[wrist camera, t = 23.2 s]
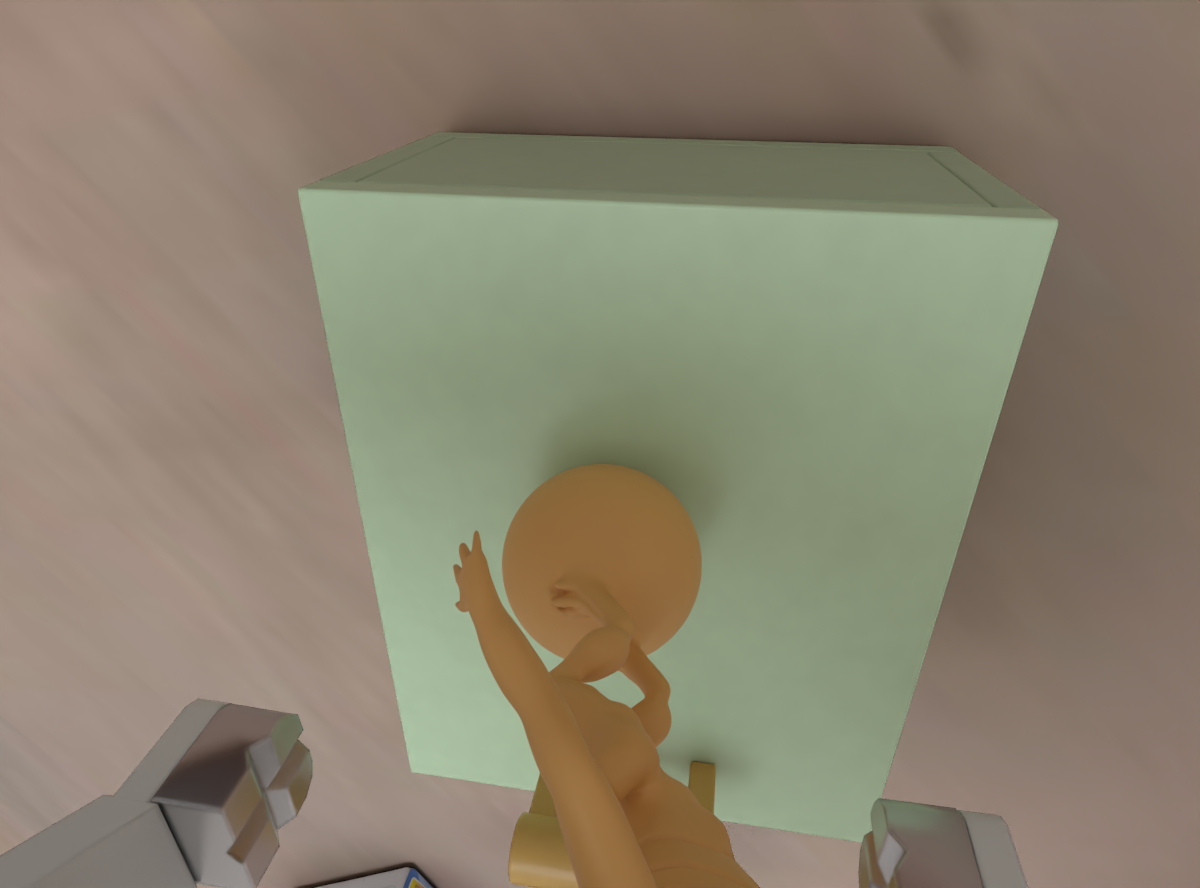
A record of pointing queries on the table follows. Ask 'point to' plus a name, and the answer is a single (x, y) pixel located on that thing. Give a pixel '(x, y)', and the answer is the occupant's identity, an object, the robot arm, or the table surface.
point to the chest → (692, 169)
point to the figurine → (601, 670)
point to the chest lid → (677, 454)
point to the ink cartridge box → (386, 880)
